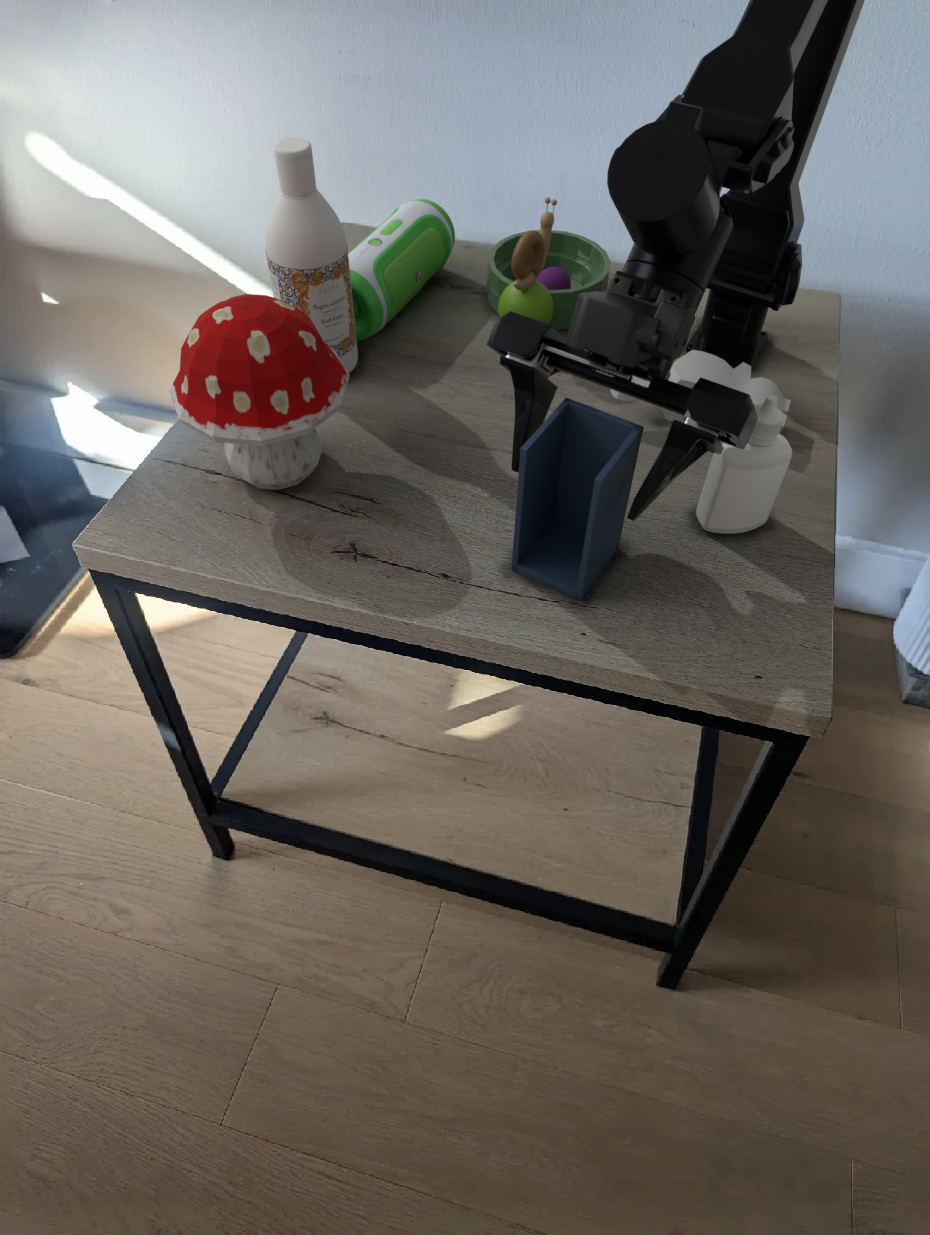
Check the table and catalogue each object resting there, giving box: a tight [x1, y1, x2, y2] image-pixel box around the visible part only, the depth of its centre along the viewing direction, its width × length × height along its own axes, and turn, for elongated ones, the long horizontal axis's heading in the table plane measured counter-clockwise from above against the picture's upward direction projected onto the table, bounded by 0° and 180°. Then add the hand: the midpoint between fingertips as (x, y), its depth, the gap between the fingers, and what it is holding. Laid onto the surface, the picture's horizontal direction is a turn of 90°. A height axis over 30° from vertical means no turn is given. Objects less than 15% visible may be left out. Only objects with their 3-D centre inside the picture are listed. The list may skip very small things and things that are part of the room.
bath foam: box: [264, 136, 359, 374], centre depth 75 cm, size 7×7×20 cm
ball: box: [536, 267, 571, 290], centre depth 88 cm, size 4×4×4 cm
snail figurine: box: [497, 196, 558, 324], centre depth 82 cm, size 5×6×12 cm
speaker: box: [348, 198, 456, 342], centre depth 87 cm, size 18×7×8 cm, turn 154°
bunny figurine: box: [610, 350, 791, 434], centre depth 77 cm, size 10×5×15 cm
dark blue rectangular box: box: [510, 397, 645, 602], centre depth 63 cm, size 6×6×12 cm
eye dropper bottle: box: [695, 395, 793, 535], centre depth 66 cm, size 4×6×12 cm
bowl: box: [486, 229, 612, 330], centre depth 89 cm, size 12×12×4 cm
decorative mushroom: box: [168, 293, 350, 491], centre depth 68 cm, size 14×14×15 cm
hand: (571, 495), depth 61 cm, fingers open, 9 cm apart
